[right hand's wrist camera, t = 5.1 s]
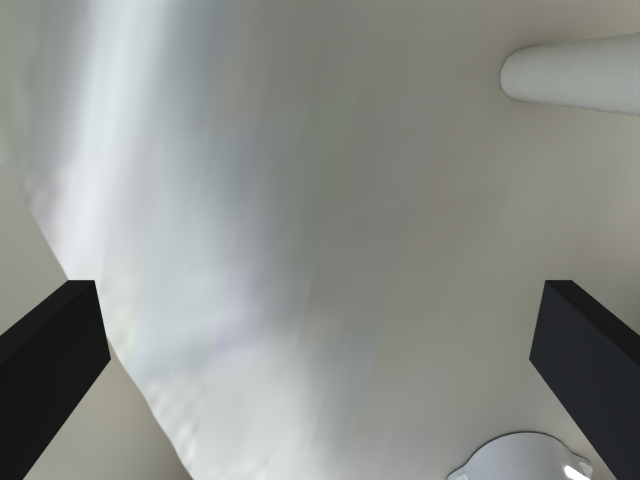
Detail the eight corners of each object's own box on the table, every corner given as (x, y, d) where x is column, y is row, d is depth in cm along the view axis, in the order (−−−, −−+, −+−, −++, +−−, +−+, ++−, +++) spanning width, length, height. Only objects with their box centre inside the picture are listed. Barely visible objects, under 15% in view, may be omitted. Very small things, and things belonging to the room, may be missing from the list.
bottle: (556, 87, 41) (887, 106, 17) (507, 109, 41) (760, 156, 18) (543, 37, 39) (888, -19, 15) (493, 61, 40) (749, 42, 16)
